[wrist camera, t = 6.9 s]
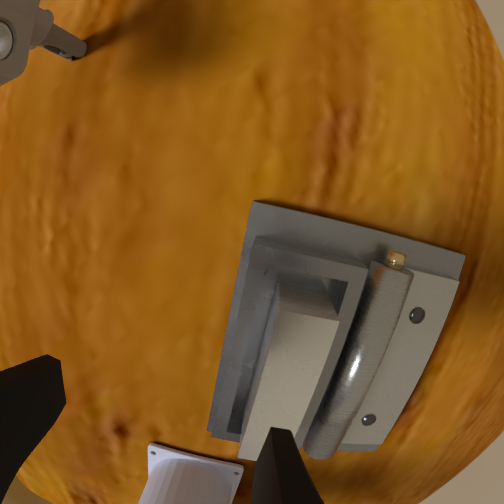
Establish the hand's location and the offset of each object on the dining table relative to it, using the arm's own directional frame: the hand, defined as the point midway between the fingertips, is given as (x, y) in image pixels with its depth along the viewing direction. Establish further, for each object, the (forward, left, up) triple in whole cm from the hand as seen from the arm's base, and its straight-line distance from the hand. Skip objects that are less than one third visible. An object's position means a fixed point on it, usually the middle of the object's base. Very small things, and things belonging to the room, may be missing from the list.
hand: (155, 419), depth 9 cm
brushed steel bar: (-1, -5, -9) cm, 10 cm away
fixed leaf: (-2, -8, -10) cm, 13 cm away
